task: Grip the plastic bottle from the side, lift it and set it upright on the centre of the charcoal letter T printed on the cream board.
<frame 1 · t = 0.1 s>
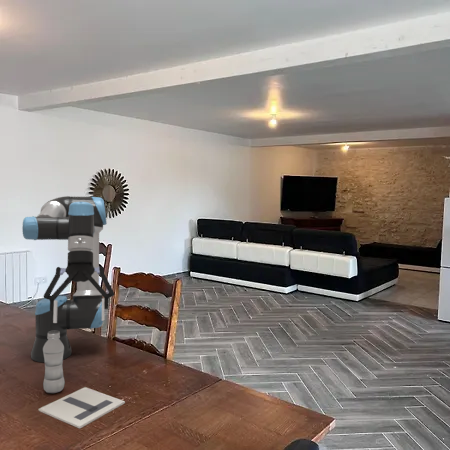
hand: (79, 321, 132), 28 cm above the table, tool tilted 20°, fingers open, 13 cm apart
letter board: (82, 406, 137), on the table
plastic bottle: (53, 391, 147), on the table
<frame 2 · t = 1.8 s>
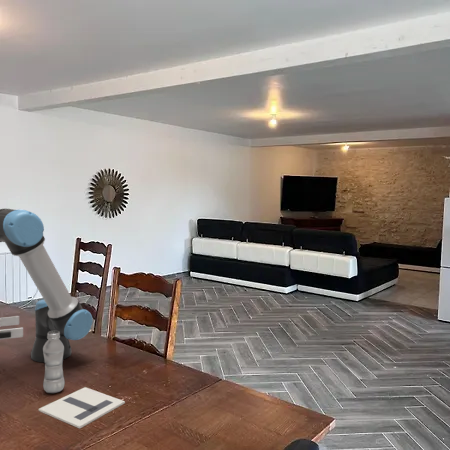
hand: (21, 325, 140), 23 cm above the table, tool horizontal, fingers open, 13 cm apart
nothing on the table moved.
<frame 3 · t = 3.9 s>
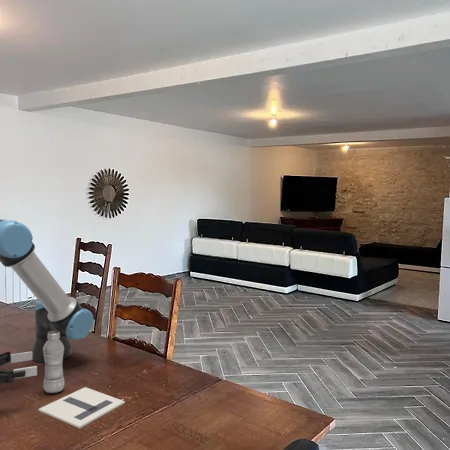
hand: (34, 362, 143), 11 cm above the table, tool horizontal, fingers open, 13 cm apart
nothing on the table moved.
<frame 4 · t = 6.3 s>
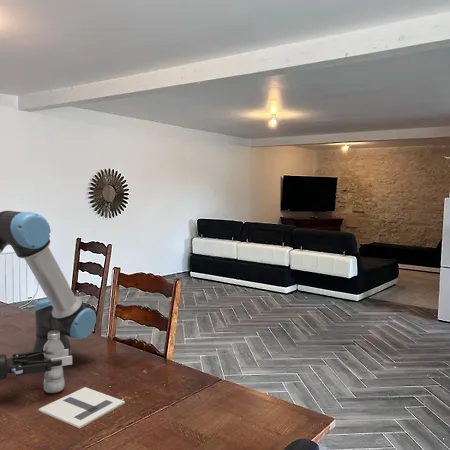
hand: (70, 356, 149), 11 cm above the table, tool horizontal, fingers closed on plastic bottle, 6 cm apart
plastic bottle: (53, 391, 147), on the table, touching gripper
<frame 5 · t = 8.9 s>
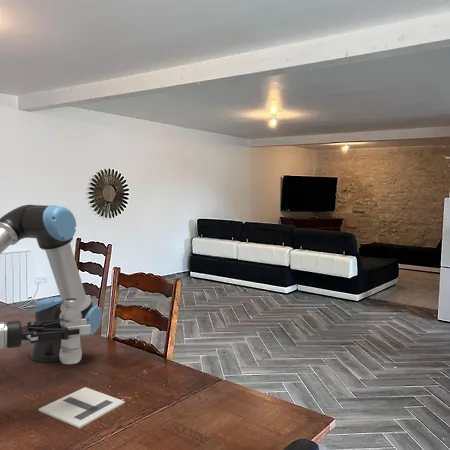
hand: (88, 326, 139), 24 cm above the table, tool horizontal, fingers closed on plastic bottle, 6 cm apart
plastic bottle: (70, 363, 138), point 13 cm above the table, touching gripper
when the fingers open (13 cm above the table, at t = 11.7 s): plastic bottle drops 1 cm, resting on letter board.
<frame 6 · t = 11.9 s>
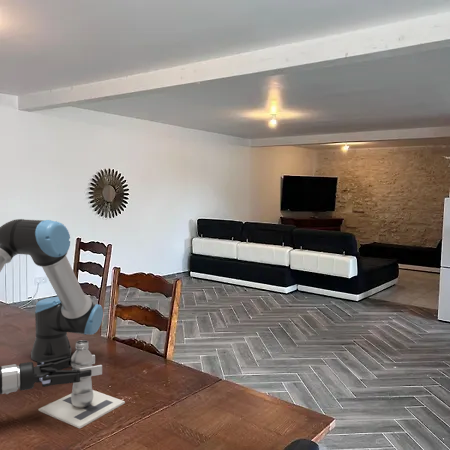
hand: (98, 364, 139), 13 cm above the table, tool horizontal, fingers open, 8 cm apart
plastic bottle: (82, 405, 137), resting on letter board
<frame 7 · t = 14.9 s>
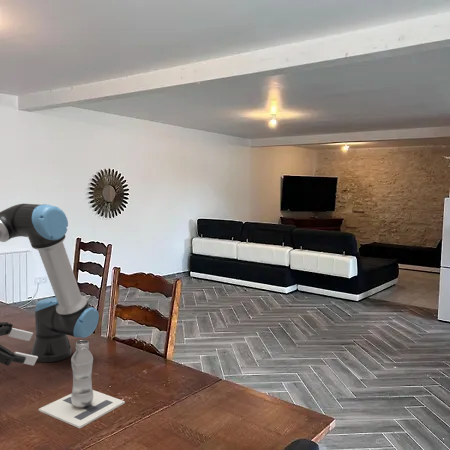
hand: (33, 348, 136), 18 cm above the table, tool tilted 65°, fingers open, 13 cm apart
nothing on the table moved.
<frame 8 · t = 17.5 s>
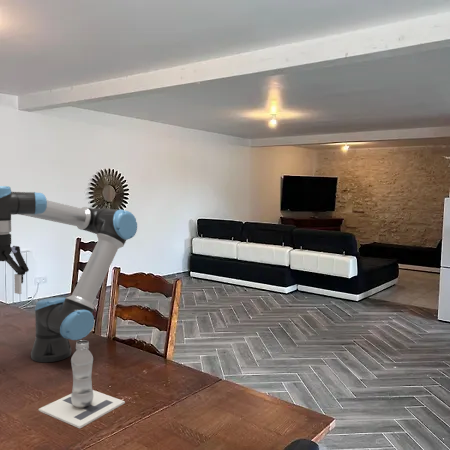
nothing on the table moved.
at the end: plastic bottle inside the target area on the letter board (0.2 cm from its centre), point 0.4 cm above the letter board's base; plastic bottle tilted 0°; the gripper is holding nothing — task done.
